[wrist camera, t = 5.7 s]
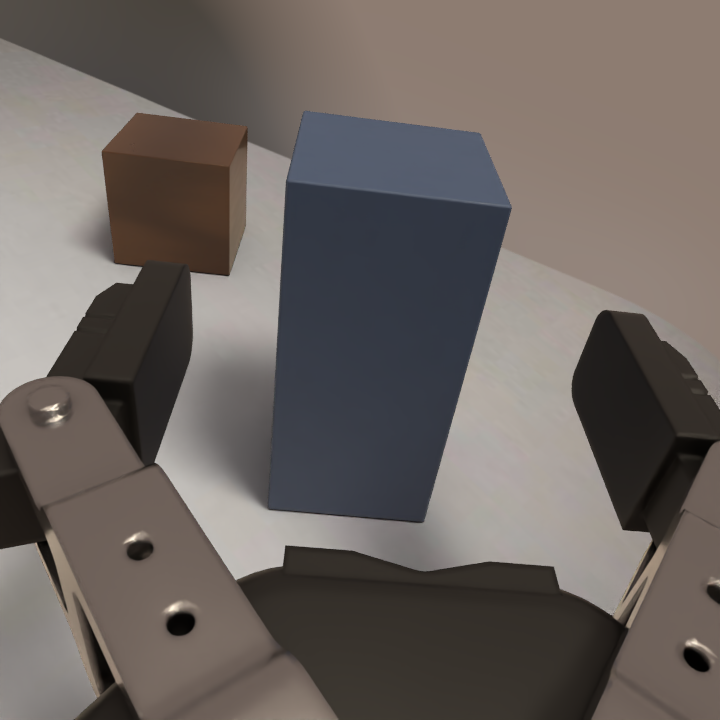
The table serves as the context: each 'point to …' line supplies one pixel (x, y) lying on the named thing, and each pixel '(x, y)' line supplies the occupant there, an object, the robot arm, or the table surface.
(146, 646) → the robot arm
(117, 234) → the block
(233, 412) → the table surface
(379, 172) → the tall block
